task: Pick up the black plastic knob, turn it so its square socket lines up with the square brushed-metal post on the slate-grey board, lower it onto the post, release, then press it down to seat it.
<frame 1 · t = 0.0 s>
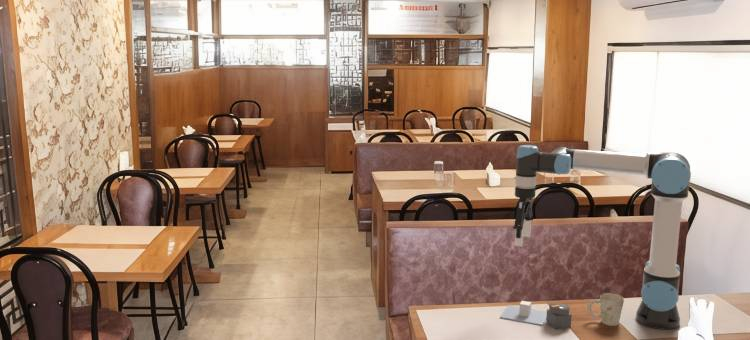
hand: (522, 241, 251), 28 cm above the table, fingers open, 13 cm apart
shaft board: (524, 315, 251), on the table
knob: (558, 324, 243), on the table
mug: (604, 322, 246), on the table
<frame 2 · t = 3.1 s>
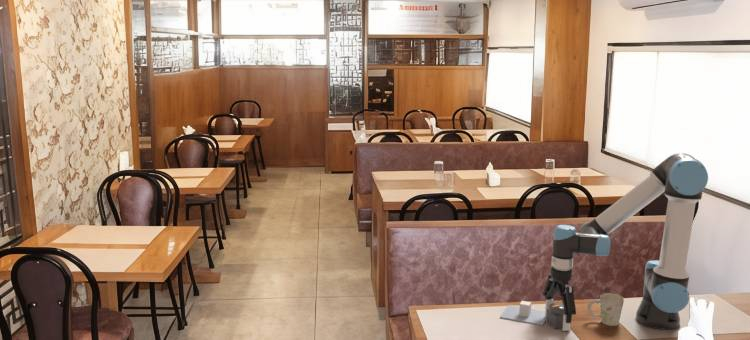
hand: (557, 322, 244), 0 cm above the table, fingers open, 12 cm apart
nothing on the table moved.
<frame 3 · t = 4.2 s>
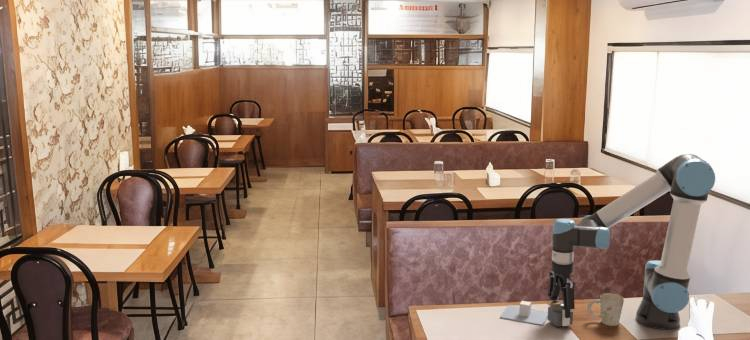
hand: (560, 321, 243), 1 cm above the table, fingers closed on knob, 7 cm apart
knob: (559, 322, 243), point 1 cm above the table, touching gripper
everything else where it was.
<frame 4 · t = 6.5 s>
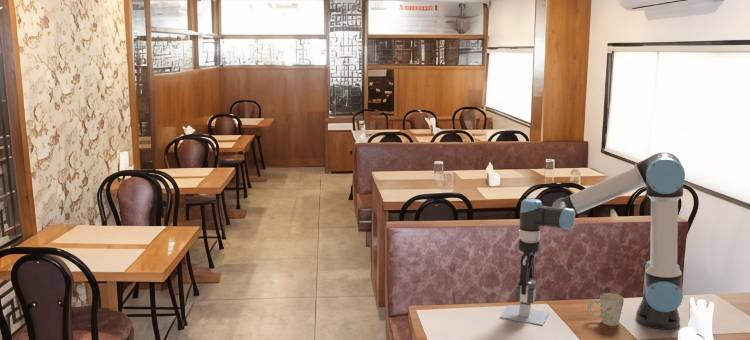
hand: (525, 298, 250), 7 cm above the table, fingers closed on knob, 7 cm apart
knob: (525, 299, 250), point 7 cm above the table, touching gripper
everything else where it was.
when the fingers open (1 cm above the table, at t = 8.9 s): knob stays where it is, resting on shaft board.
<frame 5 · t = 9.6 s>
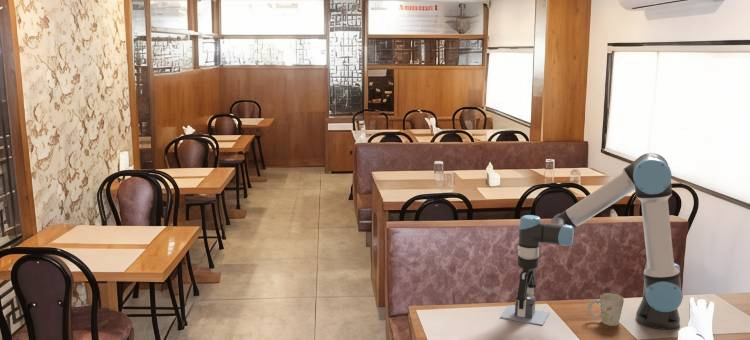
hand: (525, 310, 251), 2 cm above the table, fingers open, 13 cm apart
knob: (524, 314, 251), resting on shaft board
everything else where it was.
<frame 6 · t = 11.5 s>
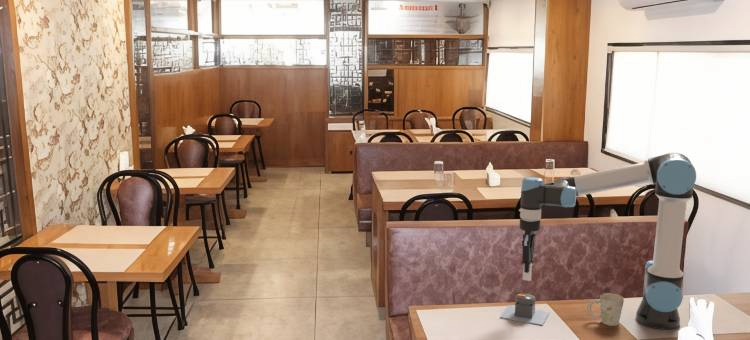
hand: (526, 279, 249), 14 cm above the table, fingers closed
nothing on the table moved.
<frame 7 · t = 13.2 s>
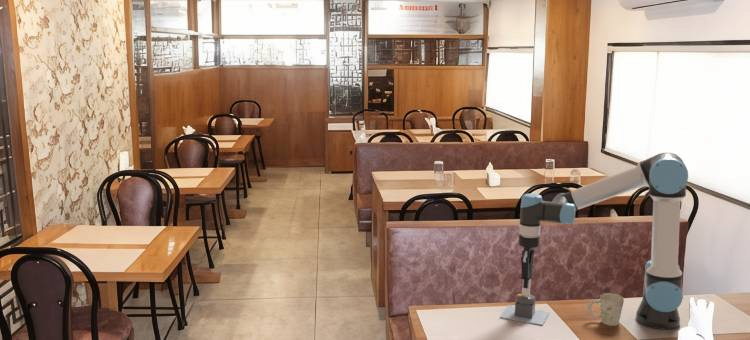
hand: (525, 295, 250), 8 cm above the table, fingers closed
knob: (524, 314, 251), resting on shaft board, touching gripper
everything else where it was.
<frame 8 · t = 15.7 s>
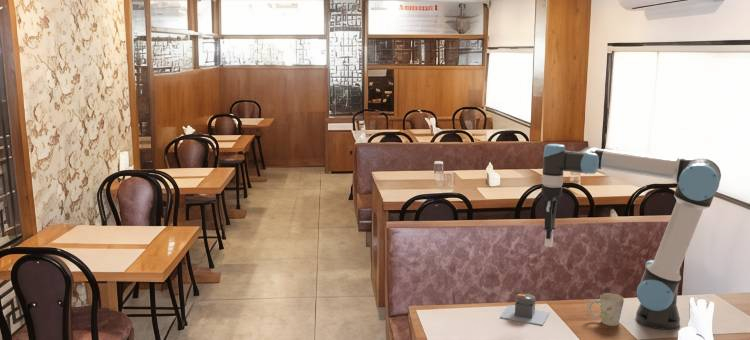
hand: (548, 246, 250), 26 cm above the table, fingers closed
knob: (524, 314, 251), resting on shaft board
everything else where it was.
at the end: knob 0.1 cm off-centre on the shaft board, point 0.4 cm above the shaft board's base; knob tilted 0°; the gripper is holding nothing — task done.
